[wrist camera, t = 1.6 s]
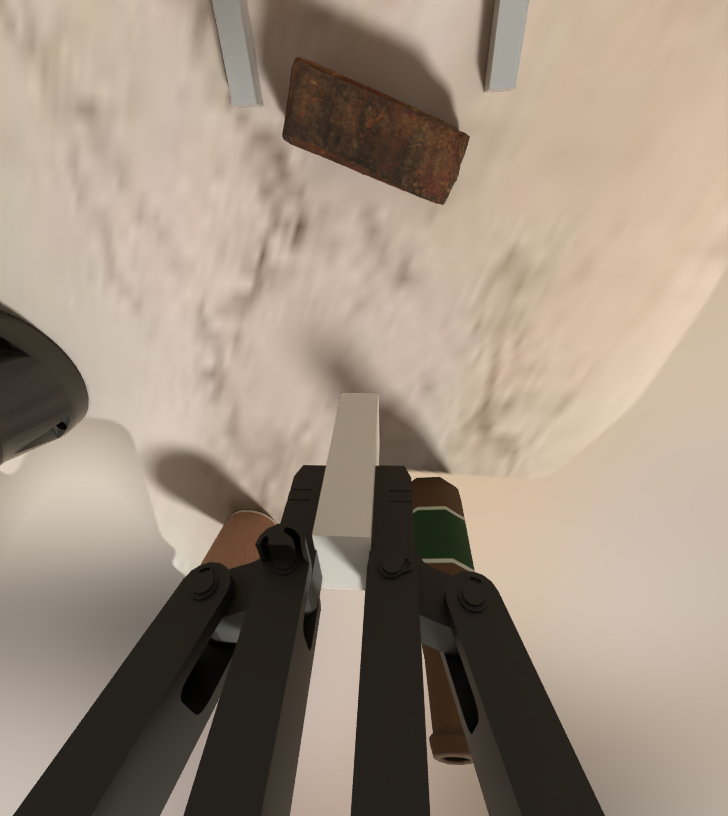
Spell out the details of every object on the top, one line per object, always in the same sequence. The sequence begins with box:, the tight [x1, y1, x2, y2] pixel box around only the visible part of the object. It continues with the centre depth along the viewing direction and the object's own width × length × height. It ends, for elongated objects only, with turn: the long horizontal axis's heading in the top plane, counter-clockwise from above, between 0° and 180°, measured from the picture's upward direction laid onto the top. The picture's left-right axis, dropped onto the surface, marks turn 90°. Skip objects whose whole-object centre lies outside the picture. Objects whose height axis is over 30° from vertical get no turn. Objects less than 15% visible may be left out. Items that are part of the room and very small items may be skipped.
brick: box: [282, 57, 470, 205], centre depth 22 cm, size 11×4×5 cm, turn 71°
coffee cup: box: [201, 510, 276, 569], centre depth 46 cm, size 10×10×12 cm
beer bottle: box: [411, 477, 475, 765], centre depth 35 cm, size 8×8×24 cm
